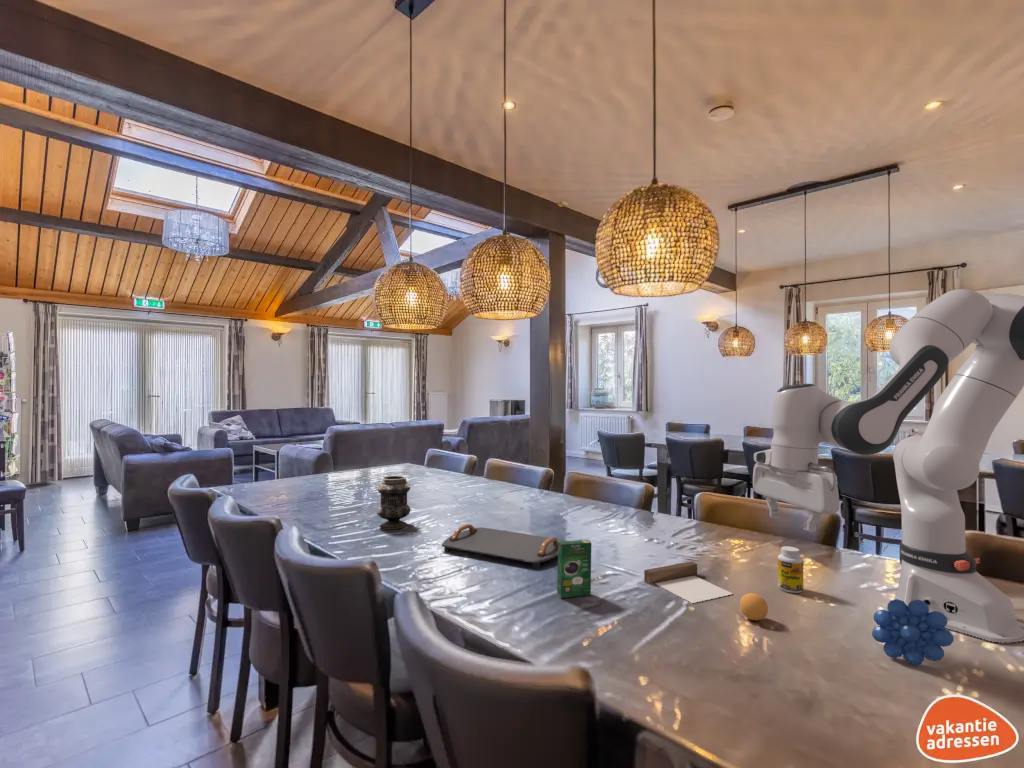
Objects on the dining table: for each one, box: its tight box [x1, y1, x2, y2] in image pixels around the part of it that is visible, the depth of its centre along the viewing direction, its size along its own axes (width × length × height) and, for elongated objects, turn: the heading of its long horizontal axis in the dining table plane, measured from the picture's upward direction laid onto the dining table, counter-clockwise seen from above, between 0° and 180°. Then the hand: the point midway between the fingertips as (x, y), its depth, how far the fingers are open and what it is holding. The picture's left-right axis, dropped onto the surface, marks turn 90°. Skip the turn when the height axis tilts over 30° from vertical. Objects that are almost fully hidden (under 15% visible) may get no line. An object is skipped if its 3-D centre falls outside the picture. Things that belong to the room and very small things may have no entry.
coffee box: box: [556, 539, 592, 599], centre depth 122 cm, size 8×3×13 cm, turn 104°
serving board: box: [441, 523, 566, 569], centre depth 157 cm, size 39×23×6 cm, turn 61°
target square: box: [654, 575, 734, 604], centre depth 125 cm, size 13×13×1 cm
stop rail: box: [643, 561, 698, 585], centre depth 132 cm, size 2×16×3 cm, turn 113°
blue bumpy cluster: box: [871, 599, 955, 666], centre depth 91 cm, size 12×7×12 cm, turn 47°
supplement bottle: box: [777, 545, 804, 594], centre depth 125 cm, size 6×6×10 cm
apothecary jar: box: [376, 475, 411, 530], centre depth 185 cm, size 12×12×18 cm
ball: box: [739, 592, 769, 622], centre depth 109 cm, size 6×6×6 cm
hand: (791, 524), depth 107 cm, fingers open, 8 cm apart
